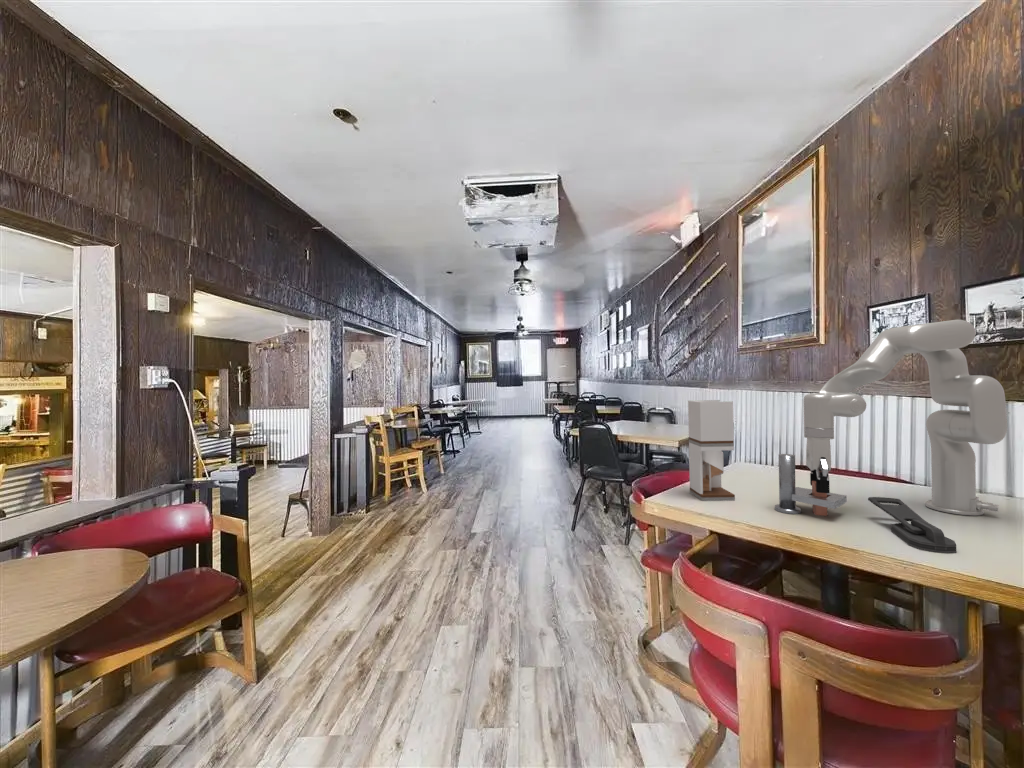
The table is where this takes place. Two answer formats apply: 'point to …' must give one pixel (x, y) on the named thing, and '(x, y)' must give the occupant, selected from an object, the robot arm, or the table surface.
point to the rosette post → (799, 490)
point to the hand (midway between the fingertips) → (819, 488)
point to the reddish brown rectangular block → (817, 509)
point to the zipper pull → (914, 527)
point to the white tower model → (709, 447)
